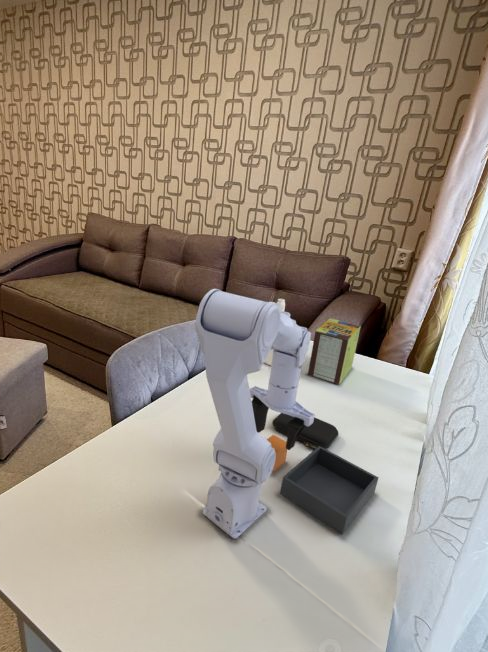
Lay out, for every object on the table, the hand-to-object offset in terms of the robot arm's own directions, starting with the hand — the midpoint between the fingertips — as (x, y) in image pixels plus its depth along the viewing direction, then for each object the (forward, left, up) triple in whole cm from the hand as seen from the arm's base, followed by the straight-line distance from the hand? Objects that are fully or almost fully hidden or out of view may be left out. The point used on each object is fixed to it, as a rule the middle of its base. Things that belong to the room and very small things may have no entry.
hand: (274, 438), depth 83 cm
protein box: (+52, +13, -7) cm, 54 cm away
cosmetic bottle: (+31, +26, +1) cm, 41 cm away
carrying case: (+15, +1, -7) cm, 17 cm away
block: (0, 0, -7) cm, 7 cm away
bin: (+1, -13, -7) cm, 15 cm away
